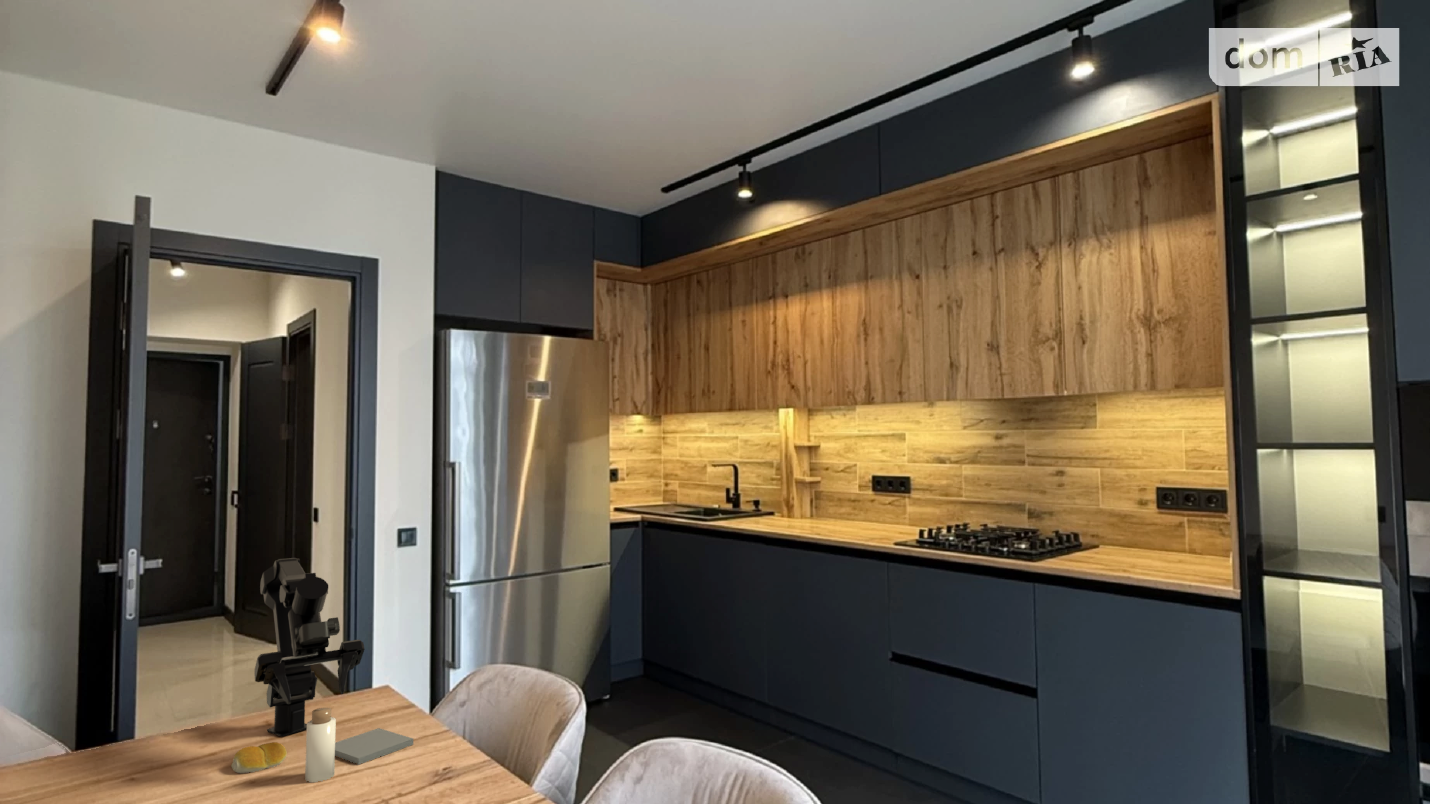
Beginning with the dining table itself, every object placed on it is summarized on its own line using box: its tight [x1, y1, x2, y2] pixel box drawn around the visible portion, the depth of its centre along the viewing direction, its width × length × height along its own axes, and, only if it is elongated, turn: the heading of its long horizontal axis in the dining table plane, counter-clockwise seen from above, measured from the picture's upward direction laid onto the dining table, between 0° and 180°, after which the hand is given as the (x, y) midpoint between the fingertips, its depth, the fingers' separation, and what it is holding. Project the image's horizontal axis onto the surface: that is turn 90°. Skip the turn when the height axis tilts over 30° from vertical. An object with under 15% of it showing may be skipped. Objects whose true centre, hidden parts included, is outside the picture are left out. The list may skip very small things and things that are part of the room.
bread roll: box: [231, 741, 288, 774], centre depth 145 cm, size 8×9×4 cm
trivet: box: [335, 727, 414, 766], centre depth 152 cm, size 12×12×1 cm
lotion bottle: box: [304, 707, 337, 783], centre depth 138 cm, size 5×5×12 cm
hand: (316, 697), depth 143 cm, fingers open, 9 cm apart
